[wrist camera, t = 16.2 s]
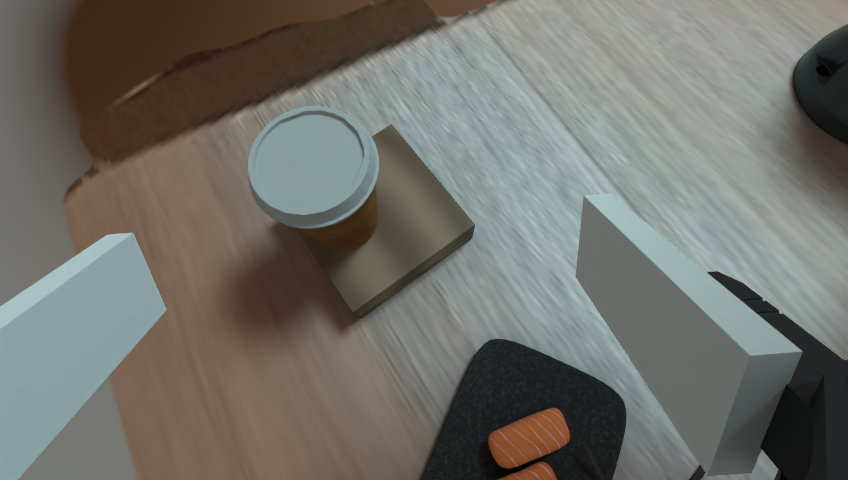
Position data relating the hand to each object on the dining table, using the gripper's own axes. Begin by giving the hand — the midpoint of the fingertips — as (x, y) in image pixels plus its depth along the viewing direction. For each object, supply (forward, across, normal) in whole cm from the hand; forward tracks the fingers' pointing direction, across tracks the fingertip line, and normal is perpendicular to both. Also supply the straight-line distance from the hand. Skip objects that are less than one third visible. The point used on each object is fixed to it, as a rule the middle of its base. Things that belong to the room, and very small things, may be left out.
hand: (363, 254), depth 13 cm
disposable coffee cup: (+26, -6, -10) cm, 29 cm away
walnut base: (+30, -3, -12) cm, 32 cm away
